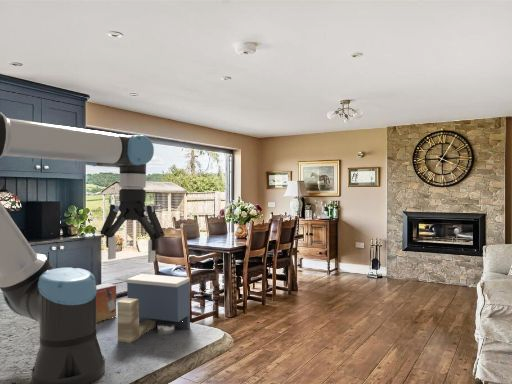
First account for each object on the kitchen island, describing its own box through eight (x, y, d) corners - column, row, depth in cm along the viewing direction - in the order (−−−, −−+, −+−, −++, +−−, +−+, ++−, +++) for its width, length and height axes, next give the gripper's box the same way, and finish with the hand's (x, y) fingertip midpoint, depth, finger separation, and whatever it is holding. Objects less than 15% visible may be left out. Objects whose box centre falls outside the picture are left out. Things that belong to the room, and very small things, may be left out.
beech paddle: (130, 343, 111) (129, 303, 111) (117, 341, 113) (117, 301, 112) (157, 327, 124) (156, 291, 123) (145, 325, 125) (145, 289, 125)
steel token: (169, 336, 117) (169, 328, 117) (153, 334, 118) (153, 326, 118) (178, 330, 122) (178, 322, 121) (163, 328, 123) (163, 320, 123)
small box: (94, 324, 127) (93, 290, 127) (84, 320, 130) (83, 287, 130) (117, 317, 133) (116, 284, 133) (107, 313, 137) (106, 282, 136)
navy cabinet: (177, 336, 116) (176, 283, 116) (126, 329, 122) (125, 279, 121) (190, 327, 123) (189, 277, 123) (141, 321, 129) (141, 273, 129)
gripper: (176, 189, 122) (175, 261, 122) (105, 188, 129) (103, 256, 129) (163, 188, 115) (162, 265, 114) (88, 187, 122) (87, 259, 122)
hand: (131, 260), depth 122 cm, fingers open, 13 cm apart
